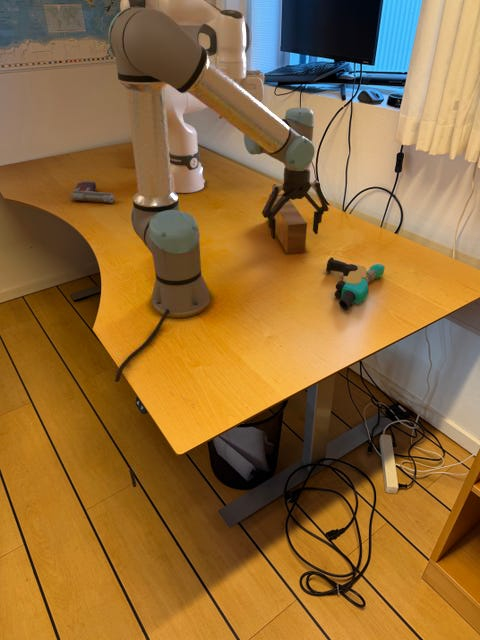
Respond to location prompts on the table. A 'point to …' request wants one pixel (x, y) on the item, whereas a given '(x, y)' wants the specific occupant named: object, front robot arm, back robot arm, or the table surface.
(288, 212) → the bar
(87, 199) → the toy gun
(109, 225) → the table surface
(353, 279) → the toy gun
